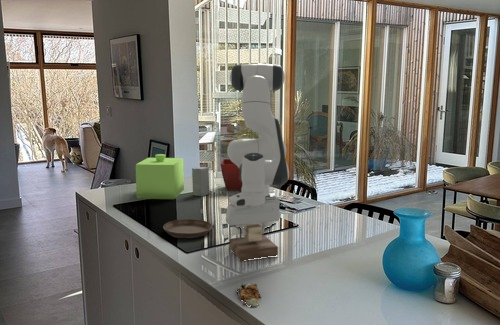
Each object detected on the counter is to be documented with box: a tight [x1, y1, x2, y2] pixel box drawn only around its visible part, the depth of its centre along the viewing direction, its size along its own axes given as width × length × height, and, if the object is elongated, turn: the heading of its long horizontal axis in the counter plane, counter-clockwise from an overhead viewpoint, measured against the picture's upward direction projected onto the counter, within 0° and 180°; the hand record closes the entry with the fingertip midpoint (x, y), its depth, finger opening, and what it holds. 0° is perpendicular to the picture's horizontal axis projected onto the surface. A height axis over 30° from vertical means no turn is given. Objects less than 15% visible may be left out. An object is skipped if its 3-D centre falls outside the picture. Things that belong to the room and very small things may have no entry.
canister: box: [135, 153, 185, 200], centre depth 261 cm, size 25×21×23 cm
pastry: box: [236, 283, 261, 308], centre depth 132 cm, size 7×12×4 cm, turn 16°
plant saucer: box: [162, 218, 213, 239], centre depth 192 cm, size 21×21×3 cm
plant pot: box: [220, 158, 242, 191], centre depth 276 cm, size 19×19×17 cm
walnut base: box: [229, 234, 279, 262], centre depth 168 cm, size 14×14×4 cm
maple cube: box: [244, 223, 263, 242], centre depth 167 cm, size 5×5×5 cm
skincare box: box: [191, 166, 210, 197], centre depth 260 cm, size 8×7×16 cm
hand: (253, 234), depth 168 cm, fingers closed on maple cube, 5 cm apart
